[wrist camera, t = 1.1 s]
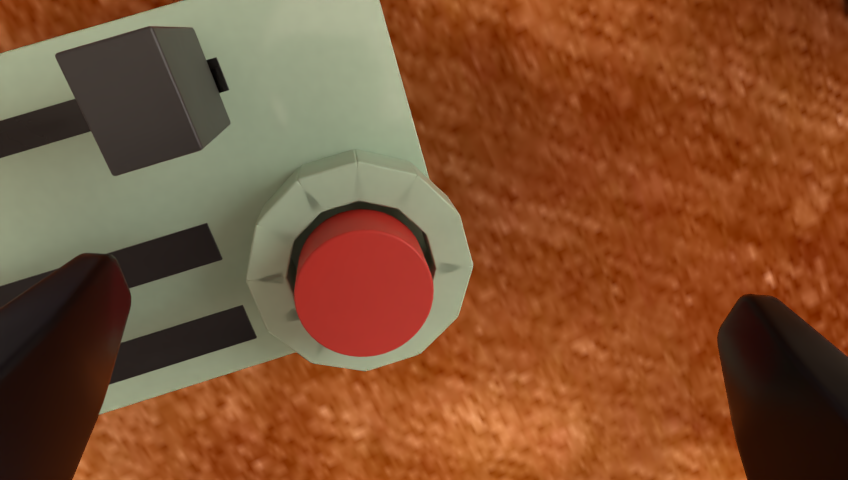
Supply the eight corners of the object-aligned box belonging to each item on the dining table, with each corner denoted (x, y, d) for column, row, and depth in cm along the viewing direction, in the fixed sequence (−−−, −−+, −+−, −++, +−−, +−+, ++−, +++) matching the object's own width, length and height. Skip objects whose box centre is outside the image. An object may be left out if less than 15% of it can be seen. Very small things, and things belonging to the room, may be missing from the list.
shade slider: (193, 26, 15) (151, 25, 12) (231, 124, 16) (203, 150, 13) (117, 48, 15) (52, 54, 12) (160, 145, 16) (111, 178, 13)
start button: (404, 192, 18) (412, 212, 16) (437, 303, 20) (449, 334, 18) (279, 230, 18) (273, 255, 16) (322, 339, 20) (320, 374, 18)
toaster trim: (229, 54, 18) (216, 57, 16) (319, 292, 21) (317, 319, 19) (-196, 179, 17) (-264, 198, 15) (-42, 405, 20) (-83, 445, 18)
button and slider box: (371, -42, 21) (384, -68, 16) (456, 266, 26) (491, 332, 20) (-86, 91, 20) (-243, 114, 15) (84, 383, 25) (11, 486, 19)
